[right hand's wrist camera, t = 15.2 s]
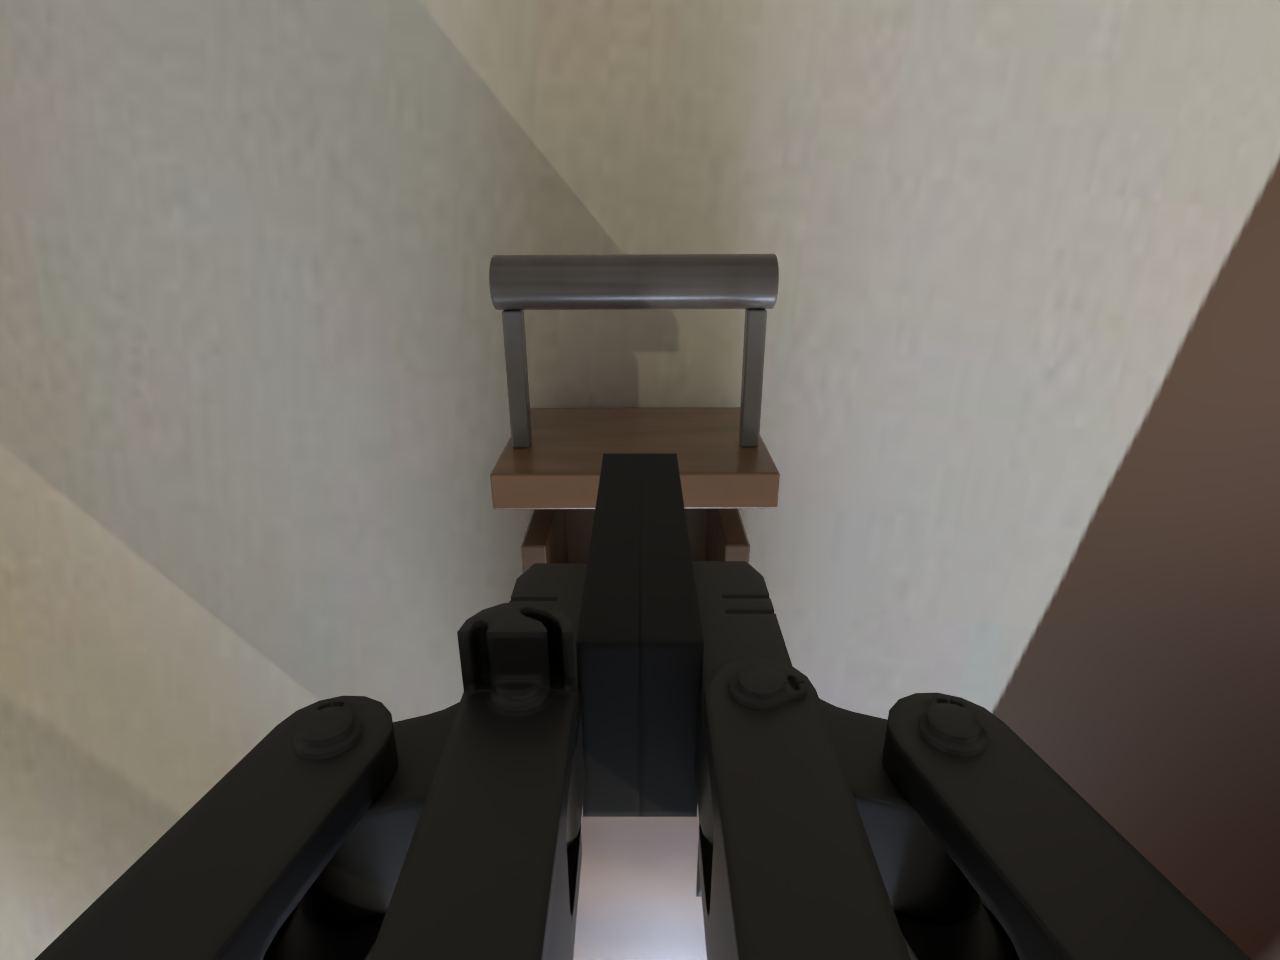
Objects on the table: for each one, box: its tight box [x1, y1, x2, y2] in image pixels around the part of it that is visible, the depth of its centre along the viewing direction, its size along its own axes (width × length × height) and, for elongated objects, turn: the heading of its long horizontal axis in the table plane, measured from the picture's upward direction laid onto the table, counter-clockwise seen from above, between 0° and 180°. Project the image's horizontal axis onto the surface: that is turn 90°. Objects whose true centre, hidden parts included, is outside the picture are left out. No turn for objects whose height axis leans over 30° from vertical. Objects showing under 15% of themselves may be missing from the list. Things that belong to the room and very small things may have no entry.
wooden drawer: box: [489, 254, 780, 573], centre depth 27 cm, size 24×9×7 cm, turn 0°
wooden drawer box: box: [573, 803, 707, 960], centre depth 31 cm, size 19×10×9 cm, turn 0°
